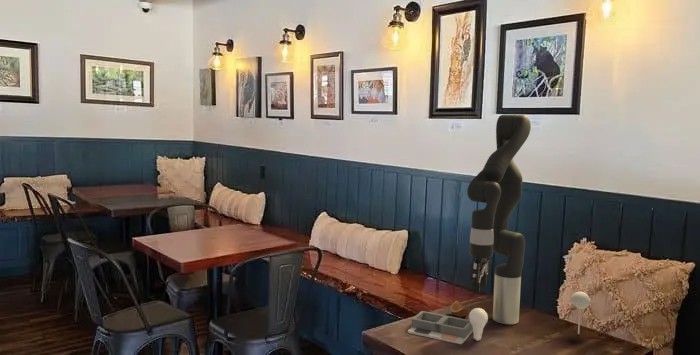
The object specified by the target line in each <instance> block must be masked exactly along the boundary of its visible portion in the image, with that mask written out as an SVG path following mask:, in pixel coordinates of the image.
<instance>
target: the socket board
mask: <svg viewBox="0 0 700 355" xmlns="http://www.w3.org/2000/svg"><path fill="white" fill-rule="evenodd" d="M407 333H408V334H411V335H417V336H420V337H425V338H431V339H435V340H439V341H445V342H449V343H453V344H458V345H463V344H464V343H465V342H466V340H467V339H468V338H469V337H470V335H471V334H472V333H473V327H472V324H471V323H470V320H469V319H465V318H462V317H457V316H456V317H455V316H449V315H446V314H440V313H435V312H430V311H424V310H421V311H420V312H419V313H418V314H416V315H415V316H413V317H412V318H411V327H410V328H409V329H408V330H407Z"/></svg>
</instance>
